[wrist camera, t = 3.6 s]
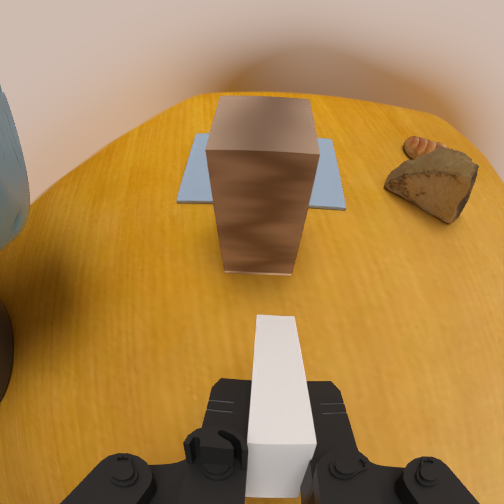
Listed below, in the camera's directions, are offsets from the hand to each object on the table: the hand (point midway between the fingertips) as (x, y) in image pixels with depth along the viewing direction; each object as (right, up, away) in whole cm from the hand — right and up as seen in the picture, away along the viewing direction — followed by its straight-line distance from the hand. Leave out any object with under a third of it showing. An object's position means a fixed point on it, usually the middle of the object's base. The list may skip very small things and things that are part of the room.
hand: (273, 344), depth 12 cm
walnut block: (0, +4, +16) cm, 17 cm away
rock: (+20, +10, +20) cm, 30 cm away
